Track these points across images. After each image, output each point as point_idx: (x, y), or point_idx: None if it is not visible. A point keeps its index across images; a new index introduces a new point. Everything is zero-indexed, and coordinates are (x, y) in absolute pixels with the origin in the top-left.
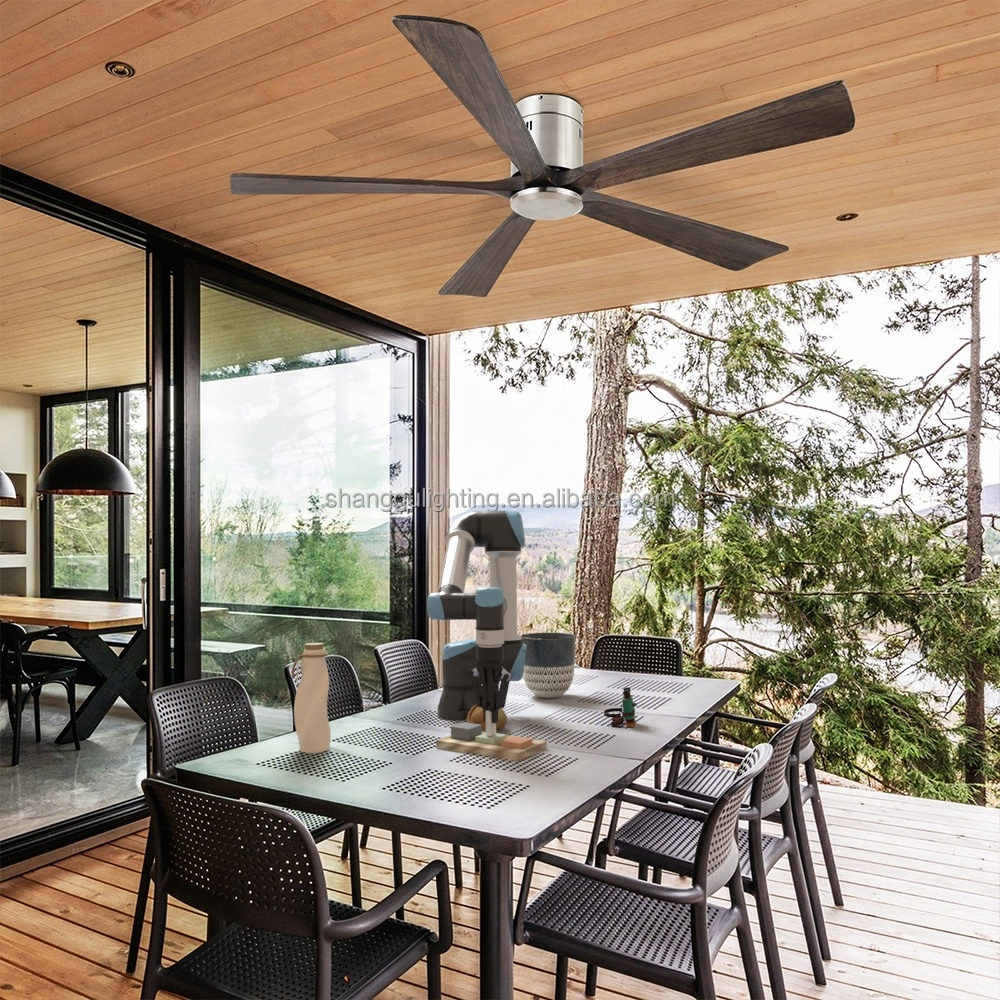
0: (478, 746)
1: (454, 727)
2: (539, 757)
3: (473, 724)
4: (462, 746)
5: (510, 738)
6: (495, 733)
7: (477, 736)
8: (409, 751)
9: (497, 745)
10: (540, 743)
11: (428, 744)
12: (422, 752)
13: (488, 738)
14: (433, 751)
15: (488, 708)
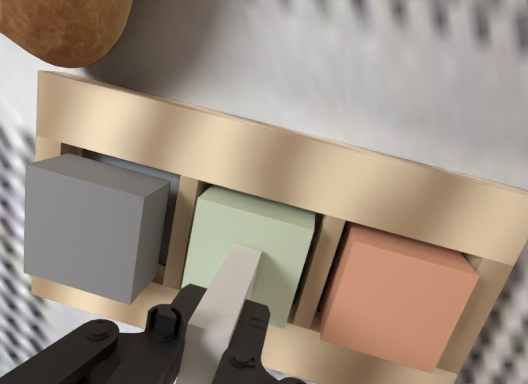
0: None
1: (45, 277)
2: (505, 328)
3: (99, 204)
4: None
5: (356, 294)
6: (259, 258)
7: None
8: (5, 336)
9: (306, 326)
10: (515, 255)
11: (2, 240)
12: (48, 340)
13: None
14: (73, 323)
15: (178, 365)
